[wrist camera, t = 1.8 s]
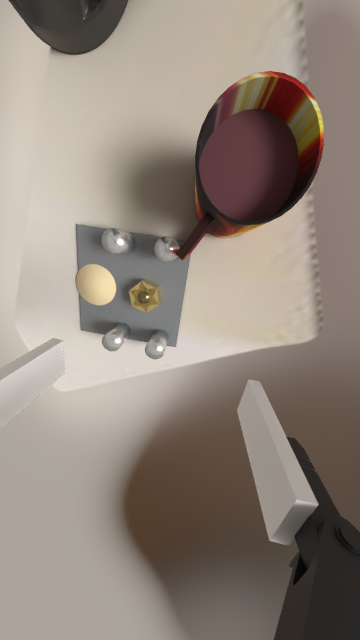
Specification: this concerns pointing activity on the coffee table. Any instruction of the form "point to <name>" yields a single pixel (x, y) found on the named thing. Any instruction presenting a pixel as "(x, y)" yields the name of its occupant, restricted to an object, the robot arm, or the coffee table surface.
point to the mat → (127, 286)
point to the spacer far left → (116, 337)
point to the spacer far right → (157, 344)
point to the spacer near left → (118, 241)
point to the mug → (254, 155)
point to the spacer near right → (166, 249)
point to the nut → (145, 295)
